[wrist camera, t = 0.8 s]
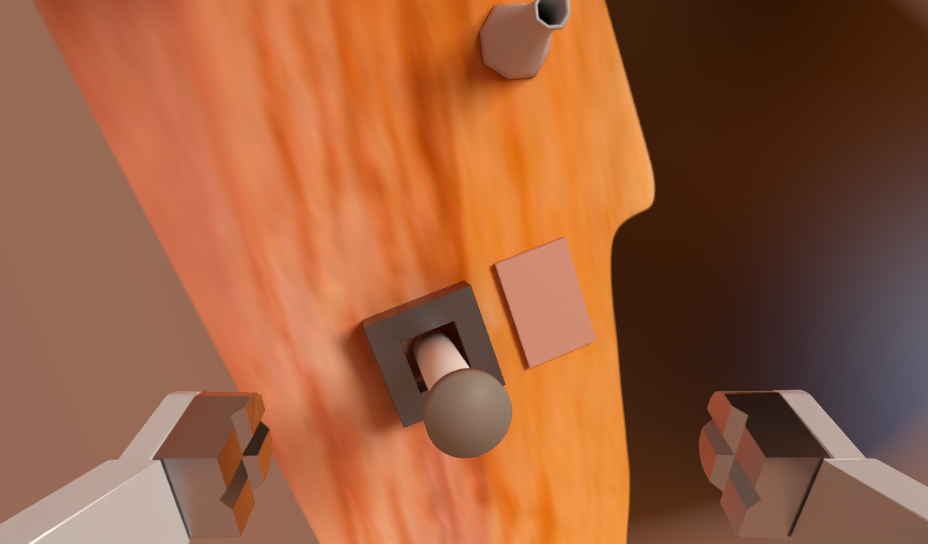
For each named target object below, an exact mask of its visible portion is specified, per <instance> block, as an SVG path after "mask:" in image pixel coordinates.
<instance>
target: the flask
mask: <svg viewBox="0 0 928 544" xmlns="http://www.w3.org/2000/svg"><path fill="white" fill-rule="evenodd" d="M570 14H571V13H570V2H569V0H535V1H534V2H532V3H530V4H512V5H498V6H494V7H493V9H492V10H491V12H490V14H489V16H488V18H487V20H486V22H485V23H484V25H483V27H482V29H481V31H480V39H481V47H482V55H483V63H484V64H485V65H487V66H488V67H490V68H491V69H493V70H494V71H496V72H497V73H499V74H500V75H502V76H503V77H505V78H506V79H508V80H509V79H519V78H529V77H536V75H537V73H538V71H539V69H540V67H541V65H542V64H543V62H544V60H545V58H546V56H547V54H548V52H549V49H550V41H551V36H552V32H553V31H554V30H558V29H563V27H564V25H565V24H566V22H567V20H568V18H569V16H570Z"/></svg>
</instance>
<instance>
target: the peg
mask: <svg viewBox="0 0 928 544" xmlns="http://www.w3.org/2000/svg"><path fill="white" fill-rule="evenodd" d="M413 353H414V356H415V359H416V361H417V364H418V366H419V369H420V371H421V373H422V376H423V378H424V381H425V383H426V386H427V388H428V390H429V392H428V394H427V396H426V399H425V402H424V407H423V419H424V423H425V427H426V430H427V433H428V435H429V437H430V439H431V441H432V442H433V444H434V445H435V446H436V447H437V448H438V449H439V450H441V451H442V452H444V453H445V454H448V455H450V456H453V457H457V458H472V457H477V456H480V455H482V454H485V453H487V452H488V451H490V450H491V449H493V448H494V447H495V446H497V445H498V444H499V443H500V441H501V440H502V439H503V438H504V436H505V435H506V433H507V431H508V429H509V426H510V423H511V418H512V406H511V401H510V398H509V396H508V393H507V392H506V390H505V389H504V388H503V386H502V385H501V384H500V383H499V381H498V380H497V379H496V378H495V377H494V376H492V375H491V374H489V373H487V372H485V371H483V370H480V369H475V368H469V366H468V365H467V363H466V362H465V360H464V359H463V358H462V356H461V355H460V353H459V352H458V350H457V349H456V348H455V346H454V345H453V343H452V342H451V340H450V339H449V338H448V336H447V335H446V334H445V333H443V332H442V331H439V330H430V331H427V332H425V333H422V334H420V335H419V336H418V337H417V339H416V340H415V342H414V346H413Z"/></svg>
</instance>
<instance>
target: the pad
mask: <svg viewBox="0 0 928 544" xmlns="http://www.w3.org/2000/svg"><path fill="white" fill-rule="evenodd" d="M494 265H495V268H496V271H497V274H498V277H499V280H500V283H501V286H502V289H503V292H504V295H505V298H506V301H507V304H508V307H509V310H510V313H511V316H512V319H513V322H514V325H515V328H516V331H517V334H518V337H519V340H520V343H521V346H522V349H523V352H524V355H525V358H526V361H527V364H528V367H529V368H532V367H535V366H537V365H539V364H542V363H544V362H546V361H549V360H551V359H553V358H556V357H558V356H560V355H563V354H565V353H568V352H570V351H572V350H575V349H577V348H579V347H582V346H584V345H586V344H589V343H591V342H593V341H596V337H595V334H594V331H593V327H592V324H591V321H590V317H589V314H588V311H587V307H586V304H585V301H584V298H583V294H582V291H581V288H580V284H579V281H578V278H577V274H576V271H575V268H574V264H573V261H572V258H571V255H570V251H569V248H568V245H567V241H566V238H565V237H562V238H559V239H557V240H554V241H551V242H549V243H546V244H544V245H541V246H539V247H536V248H533V249H531V250H528V251H526V252H523V253H521V254H518V255H515V256H513V257H510V258H508V259H505V260H502V261H500V262H497V263H495V264H494Z"/></svg>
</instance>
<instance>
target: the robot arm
mask: <svg viewBox="0 0 928 544" xmlns="http://www.w3.org/2000/svg"><path fill="white" fill-rule="evenodd" d="M708 411H709V412H710V414H711V416H712V418H713V419H712V420H711V421H710V422H709V423H708V424H706V425H705V426H704V427H703V428H702V432H701V437H700V441H699V446H700V458H701V462H702V465H703V469H704V471H705V473H706V475H707V477H708V479H709V481H710V482H711V483H712V484H714V485H715V486H716V487H718V488H719V489H721V490H722V491H723V496H722V499H721V502H720V503H721V505H722V507H723V509H724V511H725V513H726V515H727V516H728V518H729V521H730V522H731V524H732V526H733V528H734V530H735V532H736V534H737V536H738V537H763V538H764V537H765V538H766V537H767V538H790V540H789V541H790V542H791V543H792V544H928V487H926V486H924V485H922V484H921V483H919V482H917V481H915V480H913V479H912V478H910V477H908V476H906V475H904V474H902V473H900V472H899V471H897V470H895V469H893V468H891V467H890V466H888V465H886V464H884V463H882V462H880V461H879V460H877V459H866V458H865V457H864V456H863V455H862V453H861V452H860V451H859V450H858V449H857V448H856V447H855V446H854V444H853V443H852V442H851V441H850V440H849V439H848V438H847V436H846V435H845V434H844V433H843V432H842V431H841V430H840V428H839V427H838V426H837V425H836V424H835V423H834V422H833V421H832V419H831V418H830V417H829V416H828V415H827V414H826V413H825V411H824V410H823V409H822V408H821V407H820V406H819V404H818V403H817V402H816V401H815V400H814V399H813V398H812V396H811V395H810V394H808V393H806V392H804V391H802V390H784V391H783V390H779V391H771V392H770V391H755V392H754V391H750V392H749V391H748V392H747V391H745V392H715V393H714V394H713V396H712V397H711V399H710V402H709V406H708ZM264 412H265V407H264V403H263V400H262V396H261V395H259V394H258V393H253V392H205V391H203V392H181V391H180V392H179V391H175V392H173V393H171V394H169V395H167V396H166V397H165V398H164V400H163V401H162V402H161V404H160V405H159V406H158V408H157V409H156V410H155V412H154V413H153V414H152V415H151V417H150V418H149V420H148V421H147V422H146V423H145V425H144V426H143V427H142V429H141V430H140V431H139V433H138V434H137V435H136V437H135V438H134V439H133V441H132V442H131V443H130V444H129V446H128V447H127V448H126V450H125V451H124V453H123V454H122V455H121V456H120V458H119V459H118V460H108V461H106V462H105V463H103V464H101V465H99V466H98V467H96V468H95V469H93V470H91V471H89V472H88V473H86V474H84V475H83V476H81V477H79V478H78V479H76V480H74V481H73V482H71V483H69V484H67V485H66V486H64V487H62V488H61V489H59V490H57V491H56V492H54V493H52V494H51V495H49V496H47V497H46V498H44V499H42V500H40V501H39V502H37V503H35V504H34V505H32V506H31V507H29V508H27V509H25V510H23V511H22V512H20V513H18V514H17V515H15V516H13V517H12V518H10V519H9V520H7V521H5V522H3V523H2V524H0V544H188V543H189V542H190V540H189V539H198V538H199V539H200V538H201V539H202V538H234V537H241V535H242V533H243V531H244V528H245V526H246V524H247V521H248V519H249V516H250V514H251V512H252V510H253V507H254V505H255V502H254V497H253V493H252V491H253V490H254V489H256V488H257V487H258V486H259V485H261V484H262V483H263V482H264V481H265V478H266V476H267V473H268V470H269V467H270V462H271V456H272V438H271V433H270V429H269V428H268V427H267V426H266V425H265V424H264V423H263V422H261V421H260V420H261V418H262V416H263V414H264Z"/></svg>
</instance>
